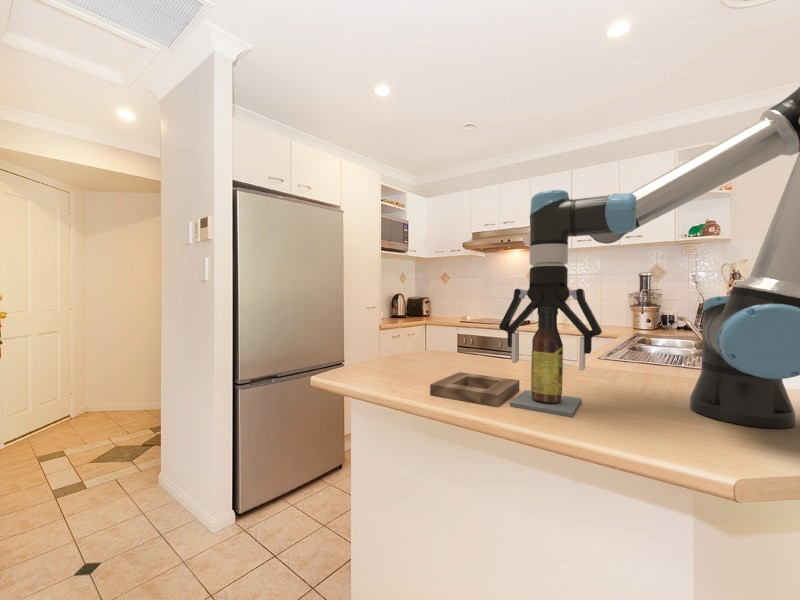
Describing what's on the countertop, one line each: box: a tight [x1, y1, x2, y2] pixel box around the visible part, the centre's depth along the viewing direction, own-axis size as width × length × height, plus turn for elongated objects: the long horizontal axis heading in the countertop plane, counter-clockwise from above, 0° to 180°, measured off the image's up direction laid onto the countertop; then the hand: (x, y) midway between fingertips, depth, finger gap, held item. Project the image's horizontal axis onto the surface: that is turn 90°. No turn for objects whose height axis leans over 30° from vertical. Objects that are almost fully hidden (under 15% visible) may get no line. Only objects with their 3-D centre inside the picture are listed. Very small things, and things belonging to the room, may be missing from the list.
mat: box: [509, 389, 582, 418], centre depth 79 cm, size 12×12×1 cm
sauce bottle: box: [530, 308, 564, 403], centre depth 79 cm, size 6×6×20 cm
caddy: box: [429, 371, 520, 408], centre depth 88 cm, size 16×16×2 cm
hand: (547, 365), depth 79 cm, fingers open, 13 cm apart
